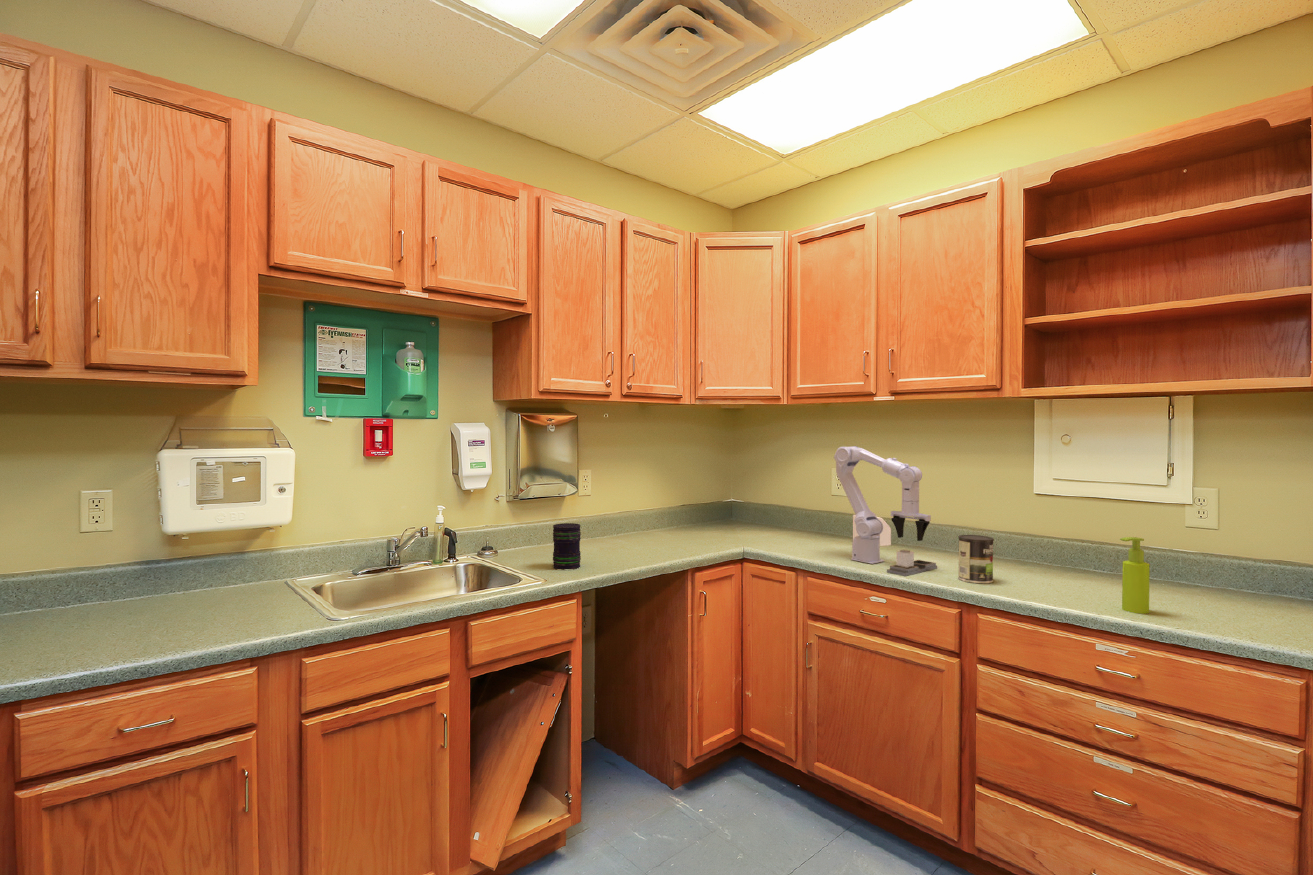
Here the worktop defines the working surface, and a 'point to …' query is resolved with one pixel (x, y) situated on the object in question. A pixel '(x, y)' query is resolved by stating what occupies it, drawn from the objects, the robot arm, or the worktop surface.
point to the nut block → (905, 559)
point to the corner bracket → (884, 535)
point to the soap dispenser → (1135, 579)
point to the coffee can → (976, 559)
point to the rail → (918, 568)
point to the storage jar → (566, 546)
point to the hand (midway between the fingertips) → (910, 538)
